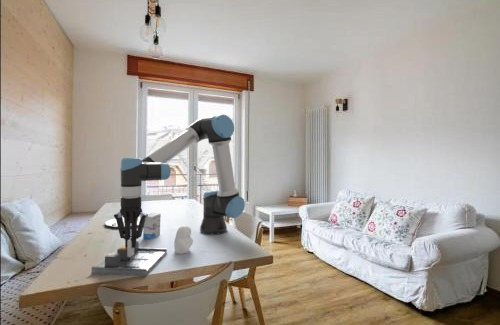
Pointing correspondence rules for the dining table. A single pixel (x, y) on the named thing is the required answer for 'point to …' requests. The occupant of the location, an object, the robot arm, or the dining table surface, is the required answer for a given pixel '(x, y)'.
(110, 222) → the plate
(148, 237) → the ink box
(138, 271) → the panel
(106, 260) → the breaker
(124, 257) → the breaker
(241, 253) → the dining table surface
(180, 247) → the figurine
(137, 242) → the block
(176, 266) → the dining table surface
